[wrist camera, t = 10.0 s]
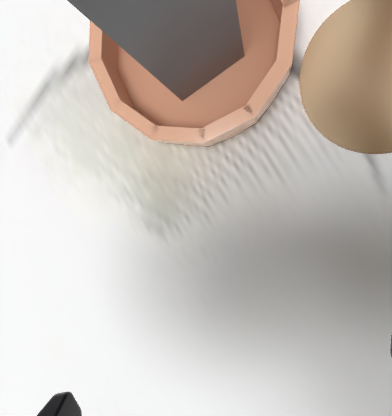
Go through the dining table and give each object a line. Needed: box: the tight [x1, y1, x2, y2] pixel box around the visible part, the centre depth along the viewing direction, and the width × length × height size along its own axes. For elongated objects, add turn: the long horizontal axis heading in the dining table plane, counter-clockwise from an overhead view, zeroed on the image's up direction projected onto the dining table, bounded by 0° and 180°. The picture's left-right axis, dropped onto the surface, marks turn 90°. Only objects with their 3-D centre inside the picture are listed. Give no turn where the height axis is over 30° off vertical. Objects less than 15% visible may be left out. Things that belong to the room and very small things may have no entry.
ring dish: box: [89, 0, 300, 146], centre depth 18 cm, size 12×12×3 cm
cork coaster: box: [300, 0, 392, 154], centre depth 17 cm, size 9×9×1 cm
